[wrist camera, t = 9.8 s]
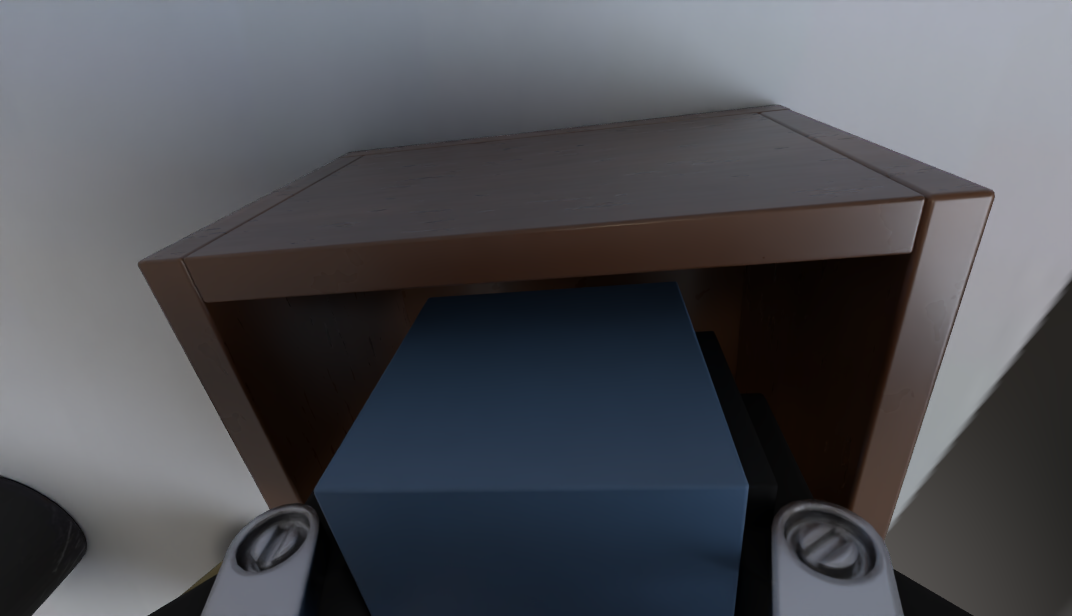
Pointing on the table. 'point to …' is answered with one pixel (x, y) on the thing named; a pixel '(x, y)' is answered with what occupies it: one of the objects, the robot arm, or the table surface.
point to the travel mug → (33, 548)
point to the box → (594, 276)
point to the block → (542, 463)
